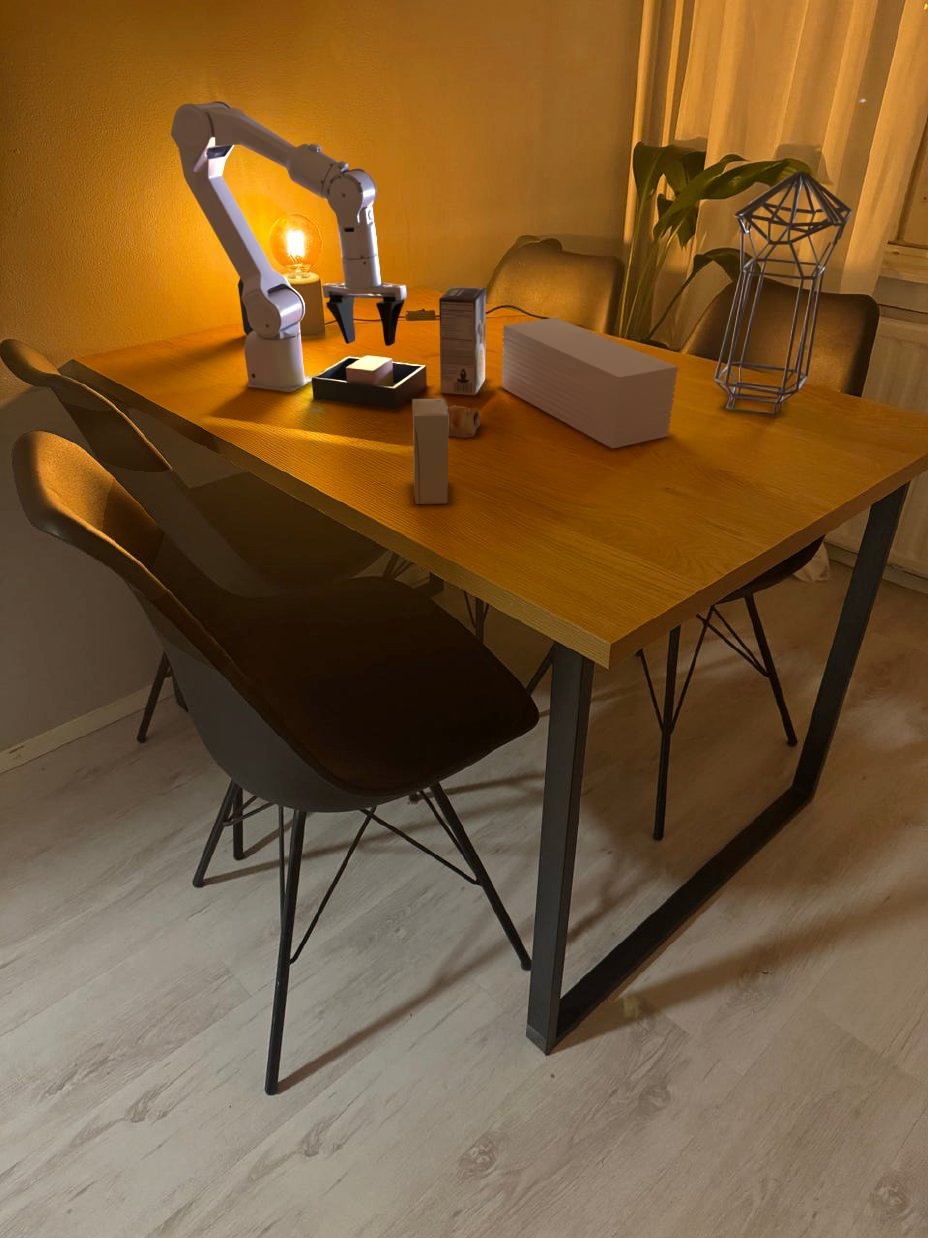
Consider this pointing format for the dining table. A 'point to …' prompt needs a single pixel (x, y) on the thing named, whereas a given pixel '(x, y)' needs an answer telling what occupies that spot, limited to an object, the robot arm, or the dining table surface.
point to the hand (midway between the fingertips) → (370, 343)
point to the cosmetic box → (430, 450)
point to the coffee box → (462, 340)
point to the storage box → (369, 386)
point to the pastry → (463, 421)
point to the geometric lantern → (748, 216)
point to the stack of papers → (589, 381)
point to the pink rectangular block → (371, 371)
